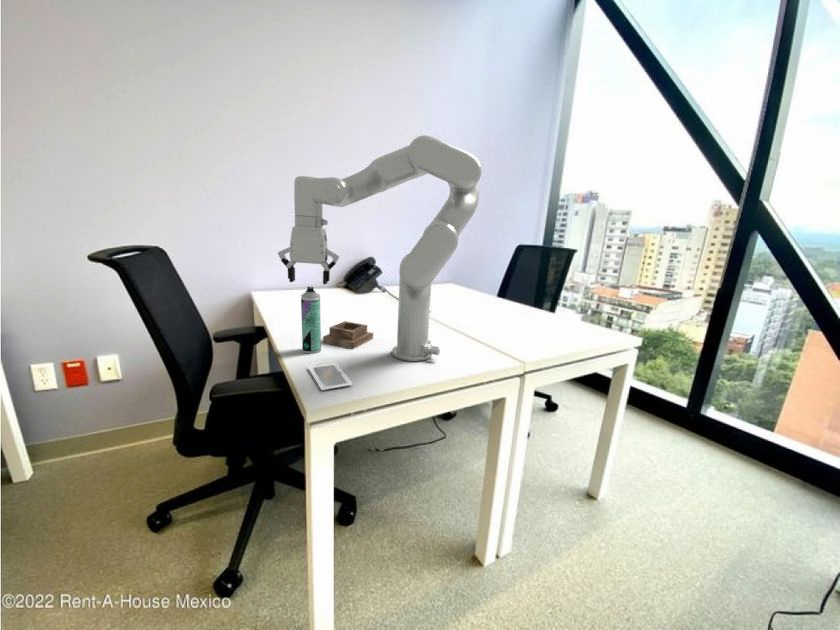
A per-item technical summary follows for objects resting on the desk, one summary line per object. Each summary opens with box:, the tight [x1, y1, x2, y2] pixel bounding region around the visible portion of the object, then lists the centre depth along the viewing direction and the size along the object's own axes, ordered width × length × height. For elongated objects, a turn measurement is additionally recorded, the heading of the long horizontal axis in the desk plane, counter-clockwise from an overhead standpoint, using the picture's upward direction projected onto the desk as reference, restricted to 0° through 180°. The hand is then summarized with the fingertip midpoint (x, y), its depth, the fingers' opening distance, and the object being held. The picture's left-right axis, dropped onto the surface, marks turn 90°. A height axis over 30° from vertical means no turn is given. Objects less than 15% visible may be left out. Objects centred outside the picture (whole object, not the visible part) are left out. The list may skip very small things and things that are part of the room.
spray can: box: [300, 286, 322, 355], centre depth 113 cm, size 6×6×20 cm
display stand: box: [322, 320, 374, 349], centre depth 126 cm, size 12×12×5 cm
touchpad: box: [307, 362, 354, 391], centre depth 97 cm, size 8×15×2 cm, turn 28°
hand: (308, 282), depth 110 cm, fingers open, 9 cm apart
